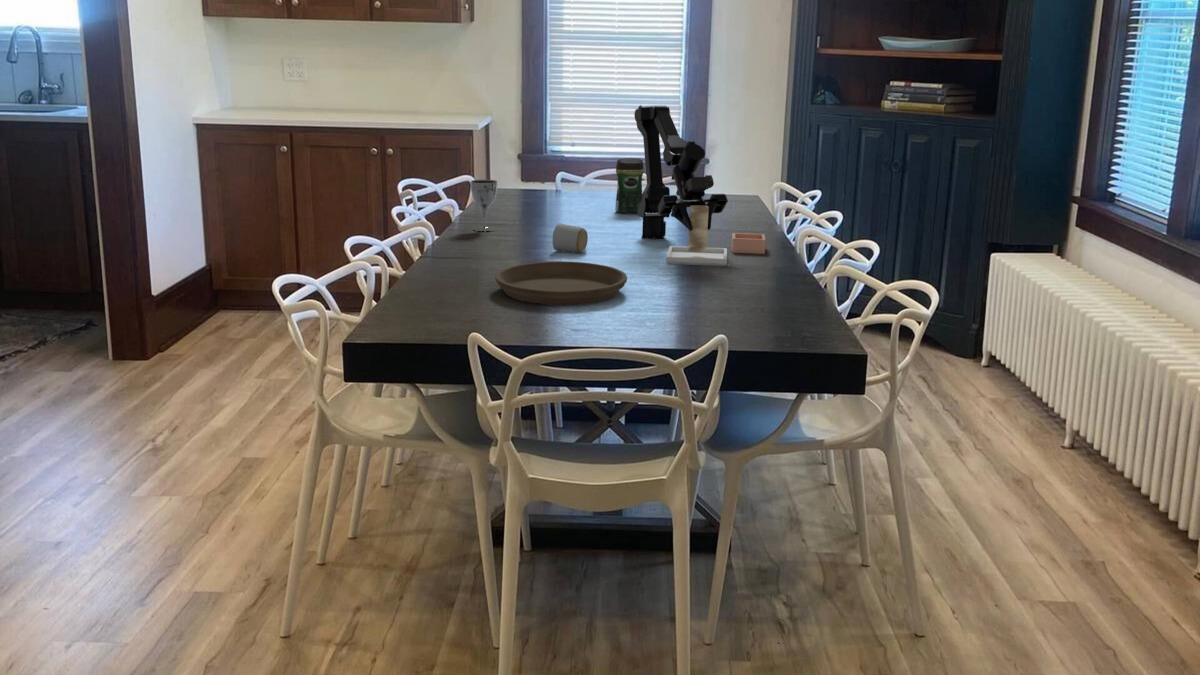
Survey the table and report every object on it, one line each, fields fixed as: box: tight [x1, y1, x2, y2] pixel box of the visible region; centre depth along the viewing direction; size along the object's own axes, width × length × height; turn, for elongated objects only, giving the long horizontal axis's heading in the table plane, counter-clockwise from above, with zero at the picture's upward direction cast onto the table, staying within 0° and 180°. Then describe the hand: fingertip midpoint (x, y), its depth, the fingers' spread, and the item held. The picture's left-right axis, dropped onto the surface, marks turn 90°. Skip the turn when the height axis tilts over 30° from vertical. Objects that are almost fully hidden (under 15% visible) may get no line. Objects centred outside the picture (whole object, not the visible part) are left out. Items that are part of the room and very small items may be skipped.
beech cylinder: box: [687, 205, 709, 252], centre depth 300 cm, size 5×5×12 cm
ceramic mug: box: [551, 223, 589, 254], centre depth 310 cm, size 11×8×8 cm
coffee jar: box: [615, 157, 645, 215], centre depth 376 cm, size 10×8×19 cm
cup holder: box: [731, 232, 766, 255], centre depth 313 cm, size 9×9×4 cm
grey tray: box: [666, 245, 728, 267], centre depth 302 cm, size 16×16×2 cm
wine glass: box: [470, 179, 498, 229], centre depth 338 cm, size 8×8×15 cm
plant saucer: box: [494, 260, 628, 306], centre depth 260 cm, size 31×31×5 cm
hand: (700, 229), depth 299 cm, fingers closed on beech cylinder, 5 cm apart
